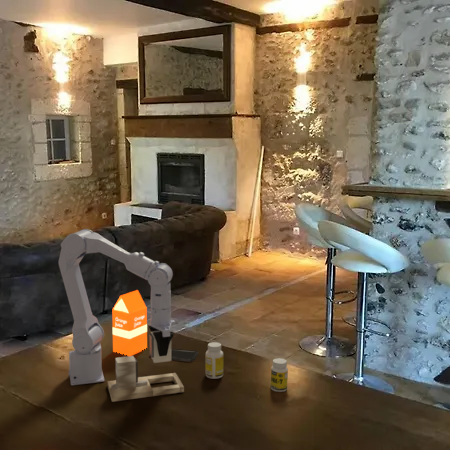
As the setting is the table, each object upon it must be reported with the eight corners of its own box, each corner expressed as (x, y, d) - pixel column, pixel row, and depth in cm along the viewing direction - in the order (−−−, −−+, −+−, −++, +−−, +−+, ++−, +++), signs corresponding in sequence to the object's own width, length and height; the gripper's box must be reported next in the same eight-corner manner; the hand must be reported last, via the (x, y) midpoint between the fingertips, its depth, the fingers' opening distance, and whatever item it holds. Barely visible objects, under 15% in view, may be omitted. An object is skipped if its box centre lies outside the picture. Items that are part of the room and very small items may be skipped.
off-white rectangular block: (152, 363, 154) (151, 336, 153) (149, 358, 158) (149, 331, 157) (171, 360, 156) (171, 334, 155) (168, 355, 160) (168, 329, 159)
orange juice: (147, 348, 186) (147, 291, 183) (130, 356, 178) (129, 297, 175) (130, 343, 190) (129, 287, 187) (112, 351, 182) (111, 293, 179)
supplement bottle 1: (224, 372, 167) (224, 341, 165) (222, 379, 162) (222, 348, 160) (206, 371, 167) (206, 340, 166) (204, 378, 162) (204, 347, 161)
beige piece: (112, 401, 147) (111, 368, 146) (107, 386, 156) (106, 354, 155) (183, 391, 153) (183, 359, 152) (175, 377, 163) (175, 347, 161)
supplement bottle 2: (267, 390, 155) (268, 361, 154) (274, 383, 159) (275, 356, 158) (283, 393, 153) (284, 365, 152) (289, 387, 157) (290, 359, 156)
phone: (156, 347, 185) (198, 350, 182) (156, 350, 185) (198, 354, 182) (148, 355, 177) (192, 359, 174) (148, 358, 178) (192, 363, 174)
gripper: (180, 313, 150) (180, 360, 152) (168, 299, 163) (168, 342, 165) (155, 315, 147) (155, 363, 149) (145, 301, 161) (145, 345, 163)
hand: (161, 352), depth 157 cm, fingers closed on off-white rectangular block, 4 cm apart
